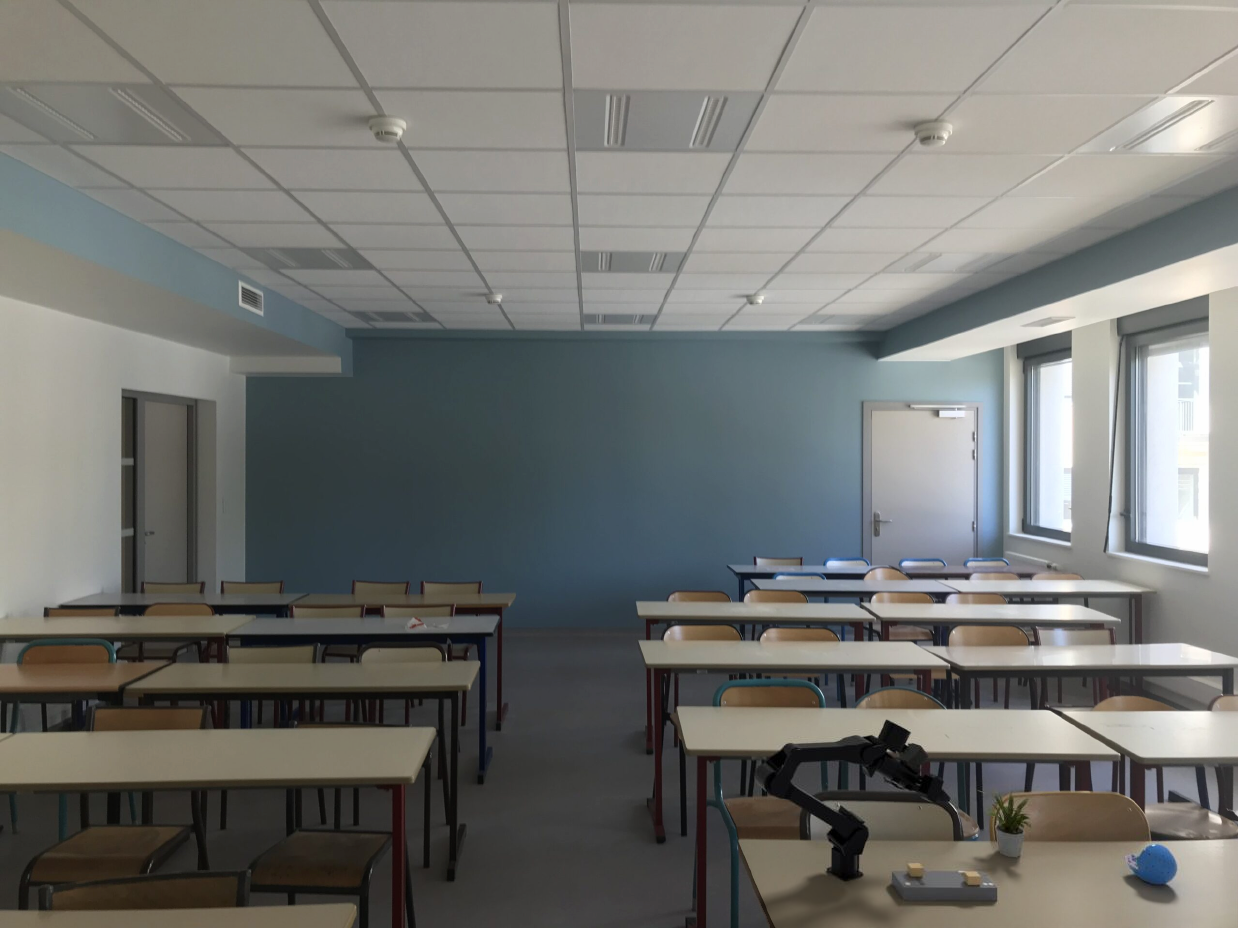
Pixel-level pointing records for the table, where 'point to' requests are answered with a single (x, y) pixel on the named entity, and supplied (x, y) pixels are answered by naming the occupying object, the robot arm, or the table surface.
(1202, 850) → the table surface
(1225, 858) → the table surface
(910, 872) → the outlet switch
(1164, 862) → the cell model
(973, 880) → the outlet switch
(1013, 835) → the house plant
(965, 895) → the grey slider switch box
